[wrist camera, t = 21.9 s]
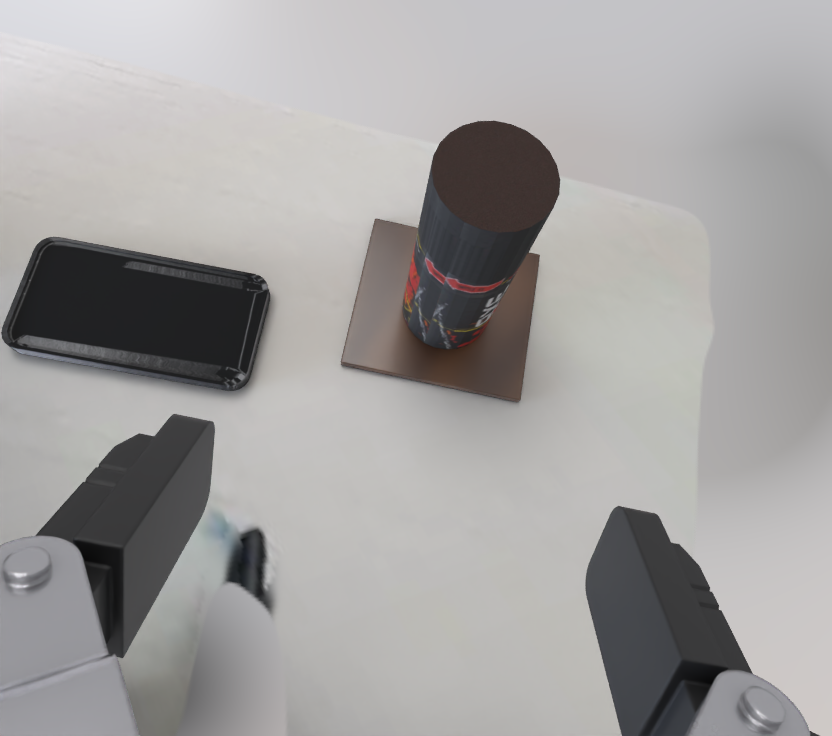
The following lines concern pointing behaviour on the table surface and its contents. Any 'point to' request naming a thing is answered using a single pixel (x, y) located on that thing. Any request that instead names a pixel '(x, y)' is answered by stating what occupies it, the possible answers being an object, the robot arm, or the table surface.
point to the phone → (138, 314)
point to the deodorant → (476, 228)
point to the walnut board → (412, 359)
